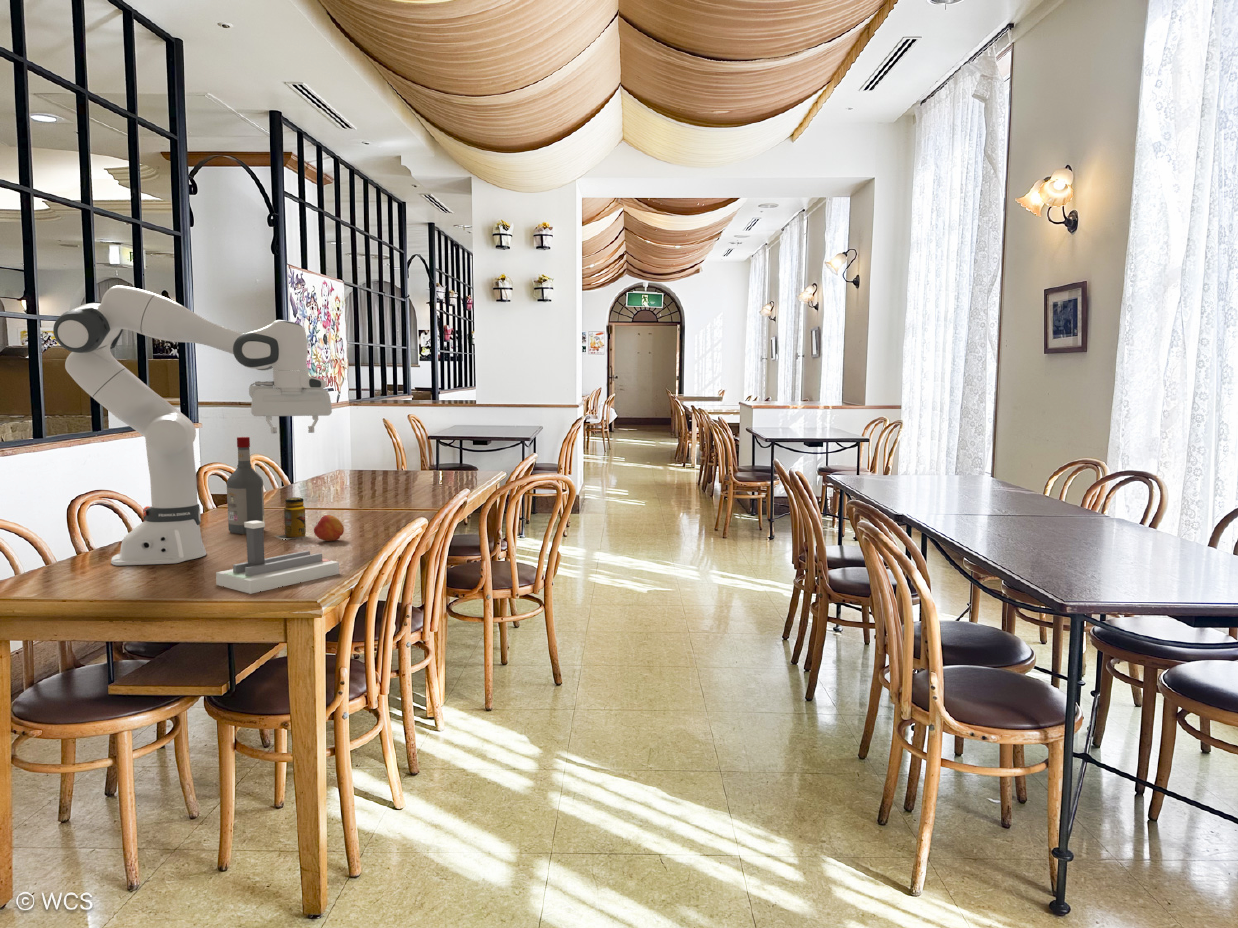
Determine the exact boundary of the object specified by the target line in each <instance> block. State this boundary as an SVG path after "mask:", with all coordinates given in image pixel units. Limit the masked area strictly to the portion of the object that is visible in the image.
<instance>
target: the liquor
mask: <svg viewBox="0 0 1238 928" xmlns="http://www.w3.org/2000/svg"><path fill="white" fill-rule="evenodd" d="M236 447H237V466H236V469H235V470H234V471H233V472H232V473H231V474H230V475H229V477H228V478H227V481H226V500H227V501H226V503H227V522H228V523H227V524H228V531H229V533H231V534H237V535H246V527H244V522H248V521H255V520H257V521H262V522H265V500H264V499H265V498H264V497H265V496H264V495H265V494H264V480H263V478H262V476H261V475H260V474H259V473H258V472H257V471H256V470H255V469H254V468H253V467H252V464H251V452H250V448H251V439H250V437H249V436H241V437H239V436H238V437H236ZM265 523H266V522H265ZM265 528H266V526H265V527H263V531H265V530H264V529H265Z"/></svg>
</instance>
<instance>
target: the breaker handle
mask: <svg viewBox="0 0 1238 928" xmlns="http://www.w3.org/2000/svg"><path fill="white" fill-rule="evenodd" d="M244 527H246V534H245V535H246V554H247V556H246V557H247V559H246V560H247V562H248V564H246V566H247V567H251V566H256V565H261V564H266V563H265V559H266V558H265V539H264V538H265V537H264V534H265V533H264V530H263V527H265V528H266V522H262V521H257V520H255V521H248V522H244Z"/></svg>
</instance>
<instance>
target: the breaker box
mask: <svg viewBox="0 0 1238 928" xmlns="http://www.w3.org/2000/svg"><path fill="white" fill-rule="evenodd" d="M264 559H265V563H266V564H261V565H256V566H251V567H247V566H246V564H248V561H245V562H240V563H235V564H232V569H231V568H230V569H227V570H222V571H216V572H215V576H216V578H215V579H216V580H215V582H216V586H220V587H223V586H224V587H223V588H227V589H231V590H234V591H235V590H236V591H239V592H242V593H245V594H249V595H251V594H255V593H259V592H260V591H261V592H264V591H268V590H273V589H278V587H279V588H282V586H283V587H286V586H290V585H297V584H301V583H305V582H309V581H313V580H317V579H318V580H319V579H322V578H327V577H331V576H334V575H339V574H340V562H339V561H335V560H331V559H326V558H323V553H320V552H318V553H314V554H311V551H310V550H303V551H298V552H294V553H293V552H292V553H288V554H287V553H286V554H282V555H277V556H271V557H268V558H267V557H266V558H264ZM300 582H301V583H300Z"/></svg>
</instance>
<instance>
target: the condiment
mask: <svg viewBox="0 0 1238 928" xmlns="http://www.w3.org/2000/svg"><path fill="white" fill-rule="evenodd" d="M304 503H305V502H304V497H296V496H295V497H287V498H285V503H284V505H285V507H284V508H283V515H284V516H283V517H284V518H283V519H284V534H282V535H274V537H275V538H277V539H278V540H282V539H283V541H286V540H287V541H288V540H294V539H302V538H303V539H305V538H311V535H308V536H306V535H307V529H306V528H307V526H306V507H305V504H304ZM285 539H286V540H285Z"/></svg>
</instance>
